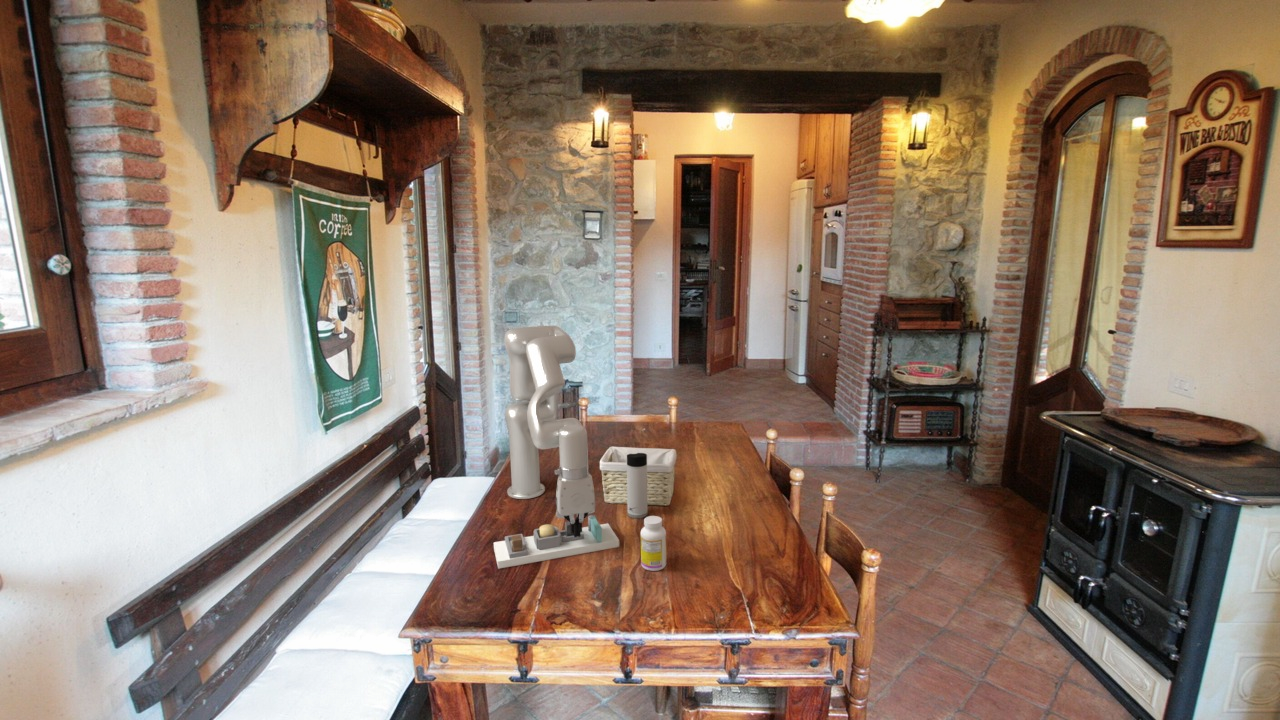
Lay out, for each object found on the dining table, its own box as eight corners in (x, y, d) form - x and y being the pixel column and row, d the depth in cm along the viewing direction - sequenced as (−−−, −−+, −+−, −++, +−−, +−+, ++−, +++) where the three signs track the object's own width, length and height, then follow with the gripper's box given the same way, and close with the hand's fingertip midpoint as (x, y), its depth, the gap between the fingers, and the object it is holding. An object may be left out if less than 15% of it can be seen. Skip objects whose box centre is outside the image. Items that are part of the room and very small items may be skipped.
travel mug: (630, 520, 181) (629, 458, 178) (625, 511, 188) (624, 450, 184) (650, 517, 183) (649, 455, 179) (644, 508, 189) (643, 448, 186)
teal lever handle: (587, 528, 171) (587, 515, 171) (595, 527, 172) (595, 514, 171) (595, 542, 163) (594, 528, 162) (603, 540, 164) (603, 527, 163)
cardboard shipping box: (512, 549, 160) (511, 535, 159) (521, 548, 160) (520, 534, 160) (513, 555, 157) (513, 541, 156) (522, 553, 158) (522, 539, 157)
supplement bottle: (651, 556, 160) (651, 511, 158) (671, 564, 156) (671, 518, 154) (635, 566, 155) (635, 520, 153) (655, 575, 151) (655, 527, 148)
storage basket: (598, 504, 193) (597, 461, 190) (609, 485, 209) (608, 445, 206) (672, 509, 189) (672, 465, 186) (677, 489, 205) (677, 448, 202)
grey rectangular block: (565, 534, 168) (564, 521, 167) (575, 533, 169) (575, 520, 168) (567, 538, 165) (566, 525, 165) (577, 536, 166) (577, 523, 166)
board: (493, 549, 165) (492, 527, 164) (608, 529, 176) (607, 509, 174) (498, 568, 155) (496, 545, 153) (619, 546, 165) (618, 525, 164)
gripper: (549, 480, 154) (552, 545, 157) (604, 472, 159) (606, 536, 162) (544, 470, 161) (546, 533, 164) (597, 463, 166) (599, 524, 169)
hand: (576, 534), depth 163 cm, fingers closed
